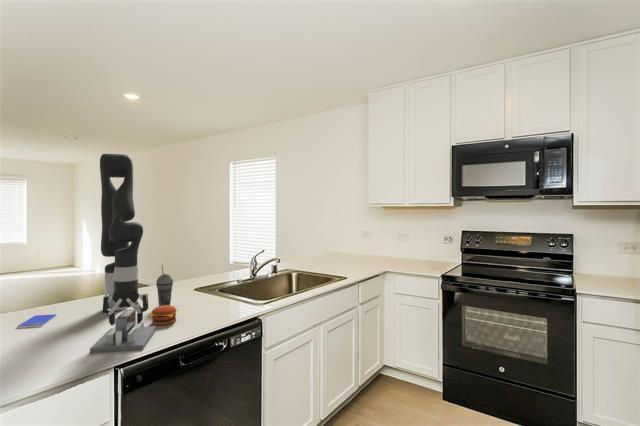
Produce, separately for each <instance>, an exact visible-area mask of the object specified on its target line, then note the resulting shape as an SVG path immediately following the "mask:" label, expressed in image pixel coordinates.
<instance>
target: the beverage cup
mask: <svg viewBox="0 0 640 426" xmlns="http://www.w3.org/2000/svg"><path fill="white" fill-rule="evenodd" d="M161 272H162V274H160V276H159V277H157V279H156V283H155V285H156V288H157V299H158V301H157V302H158V307H159V306H163V305H169V306H171V299H172V292H173V291H172V290H173V286H174V285H173V284H174V280H173V277H172V276H171V275H170V274H168V273H164V265H162V264H161Z"/></svg>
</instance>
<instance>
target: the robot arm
mask: <svg viewBox="0 0 640 426" xmlns="http://www.w3.org/2000/svg"><path fill="white" fill-rule="evenodd" d="M99 173H100V185H101V202H100V205H101V207H100V212H101V213H100V214H101V236H100V237H101V239H100V252H101V255H102V257H106V258H108V257H109V258H111V257H114V262H112V263H108V264H106V265H105V266H104V296H103V298H102V299H103V300H102V314H108V324H110V326H114V325H115V319H116V311H117V312H119V311H122V310H127V308H131V307H132V310H136V324H140V322H143V321H144V320H143V319H144V318H143V317H144V314H143V313H144V312H147V310H149V294H148V293H147V292H146V293H143V294H139V269H138V268H139V267H138V253H139V252H138V251H139V247H140V244H141V242H142V239H143V234H144V227H143V226H142V224H141V223H140V222H138V221H132V220H133V219H134V218H135V216H136V211H135V204H134V194H133V193H134V164H133V160H132V157H131V155H129V154H120V153H102V154H101V155H100V159H99ZM111 178H116V179H117V178H119V179H120V178H121V179H122V178H124V179H123V181H122V183H121V185H120V186H118V188H116V187H115V186H114V184H113V182H112V179H111ZM139 299H140V301H142V306H141V303H139V302H138V300H139Z"/></svg>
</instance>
